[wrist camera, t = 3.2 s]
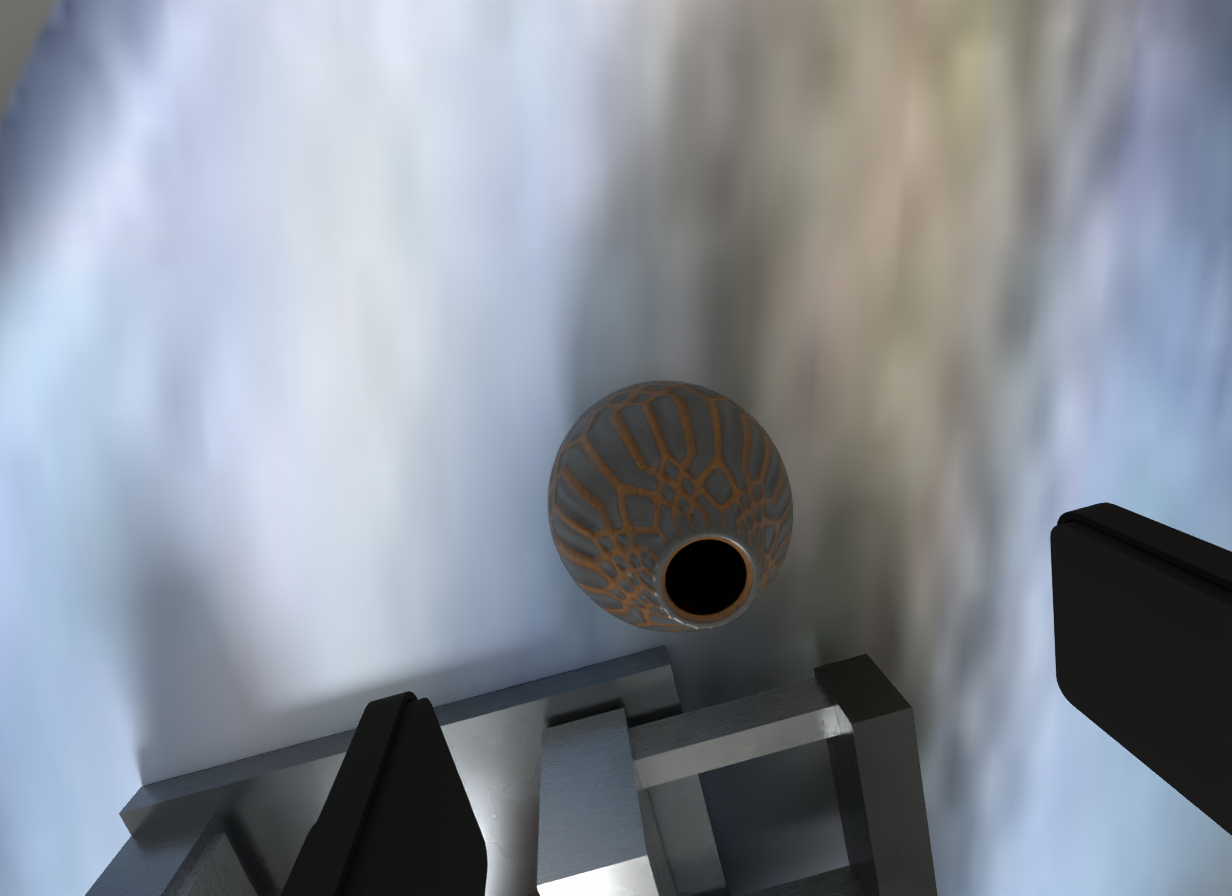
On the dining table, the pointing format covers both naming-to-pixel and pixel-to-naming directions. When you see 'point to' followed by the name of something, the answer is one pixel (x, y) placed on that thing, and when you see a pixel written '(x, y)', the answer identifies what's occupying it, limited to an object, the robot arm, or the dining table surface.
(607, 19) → the dining table surface
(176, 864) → the vise
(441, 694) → the dining table surface
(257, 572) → the dining table surface
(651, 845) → the sliding jaw
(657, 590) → the vase
